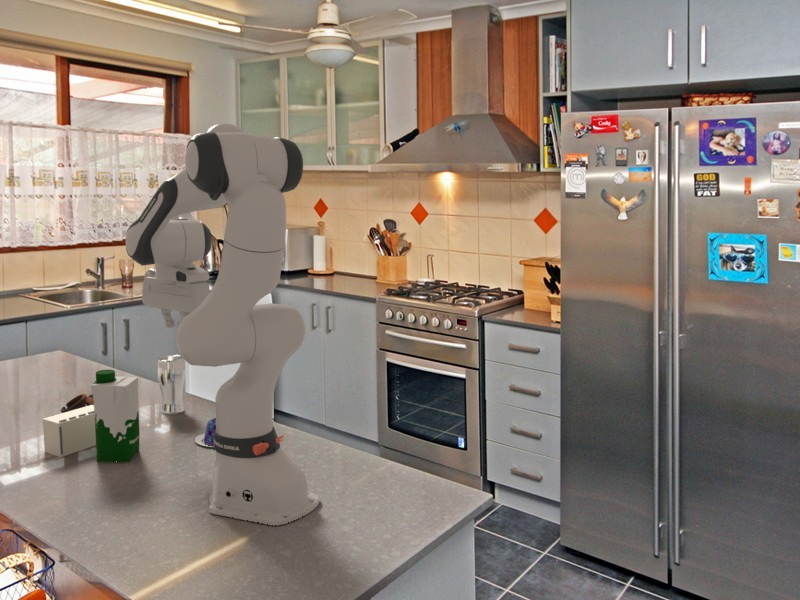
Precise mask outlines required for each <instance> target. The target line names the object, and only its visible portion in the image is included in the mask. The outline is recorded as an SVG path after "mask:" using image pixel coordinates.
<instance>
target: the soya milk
mask: <svg viewBox="0 0 800 600" xmlns="http://www.w3.org/2000/svg"><path fill="white" fill-rule="evenodd" d="M90 388H91V393H92V394H93V399H94V414H95V433H96V446H95V448H96V449H95V450H96V462H97V463H122V462H128V463H130V462H131V460H132V459H133V458H135V456H136V455H137V454H138V453H140V435H141V434H140V415H139V411H140V410H139V377H137V376H136V377H135V376H132V377H131V376H126V375H125V376H124V375H123V376H116V372H115V370H114V369H102V370H97V371H96V372H95V381H94V382H92V384H91V385H90ZM116 461H117V462H116Z"/></svg>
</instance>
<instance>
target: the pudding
mask: <svg viewBox="0 0 800 600" xmlns="http://www.w3.org/2000/svg"><path fill="white" fill-rule="evenodd" d="M215 429H216V417H215V418H212V419H210V420H208V421H207V425H206V429H205V432H203V433H201V434H199V435H197V436H196V437H195V439H194V440H195V443H196V444H197V445H200V446H203V447H207V448H208V447H209V448H214V431H215ZM203 438H204V440H203V443H204V444H203V443H202V442H201V440H202V439H203ZM205 444H206V445H205ZM208 445H210V446H208ZM211 445H213V446H211Z"/></svg>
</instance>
